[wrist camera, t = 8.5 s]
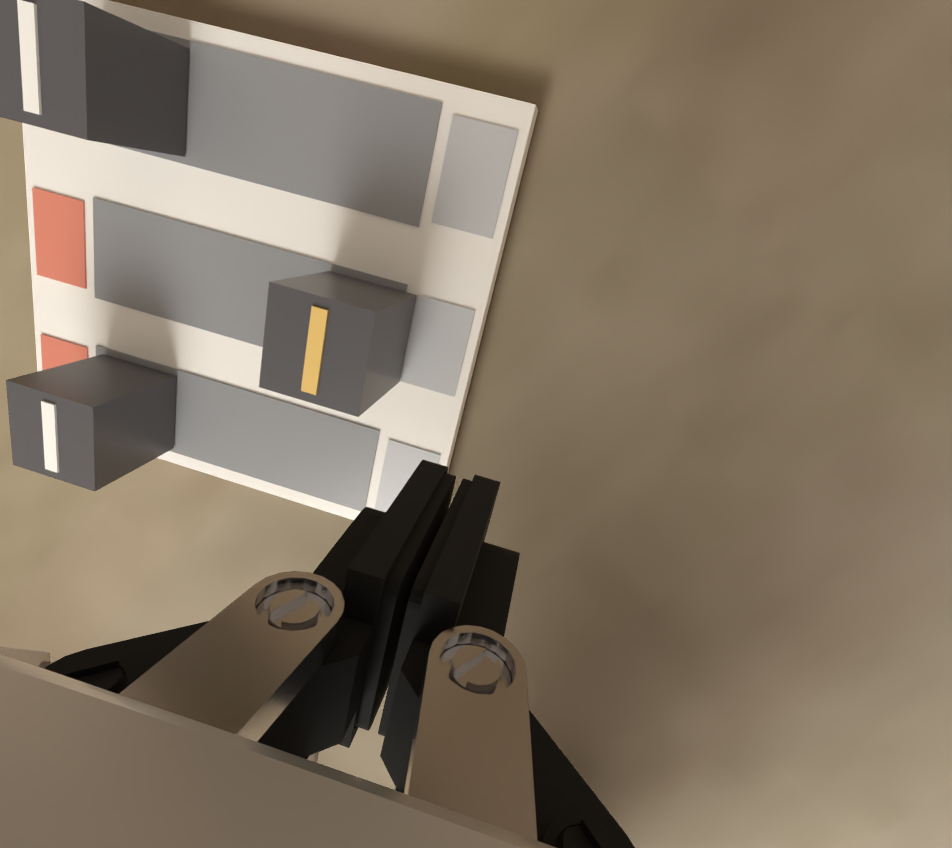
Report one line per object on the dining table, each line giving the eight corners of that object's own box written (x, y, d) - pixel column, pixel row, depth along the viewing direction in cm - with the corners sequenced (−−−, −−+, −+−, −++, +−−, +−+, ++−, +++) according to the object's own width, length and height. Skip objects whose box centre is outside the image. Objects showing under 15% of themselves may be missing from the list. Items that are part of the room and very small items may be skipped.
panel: (538, 110, 22) (521, 66, 16) (433, 531, 29) (394, 611, 23) (40, -12, 24) (-146, -93, 18) (60, 413, 31) (-67, 459, 25)
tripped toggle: (416, 295, 24) (375, 312, 19) (399, 381, 25) (357, 418, 20) (329, 270, 24) (267, 281, 19) (317, 357, 25) (257, 387, 21)
